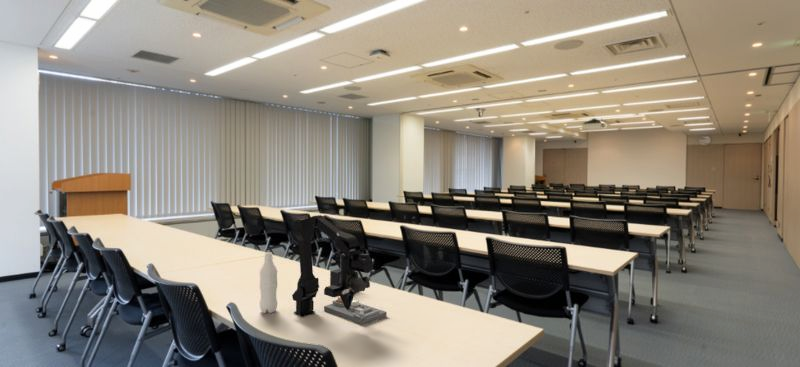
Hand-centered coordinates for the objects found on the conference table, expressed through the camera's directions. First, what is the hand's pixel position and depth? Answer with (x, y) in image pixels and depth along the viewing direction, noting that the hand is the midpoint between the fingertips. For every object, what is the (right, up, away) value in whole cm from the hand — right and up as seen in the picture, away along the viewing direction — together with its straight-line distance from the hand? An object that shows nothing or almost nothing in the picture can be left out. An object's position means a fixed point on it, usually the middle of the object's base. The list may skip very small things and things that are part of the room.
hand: (347, 309), depth 154 cm
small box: (-9, -6, +47) cm, 48 cm away
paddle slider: (+4, -4, +5) cm, 7 cm away
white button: (+1, -3, +14) cm, 14 cm away
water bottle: (-36, -6, +16) cm, 39 cm away
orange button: (-5, -3, +20) cm, 20 cm away
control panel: (+1, -6, +14) cm, 15 cm away
